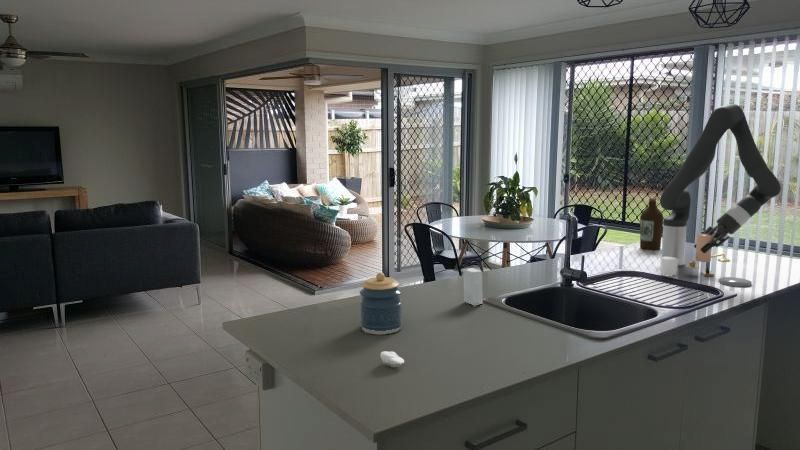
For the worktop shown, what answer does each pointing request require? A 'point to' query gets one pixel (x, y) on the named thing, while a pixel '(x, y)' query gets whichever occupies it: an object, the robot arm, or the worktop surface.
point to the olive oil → (651, 227)
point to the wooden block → (701, 241)
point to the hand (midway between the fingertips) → (699, 249)
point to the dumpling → (391, 358)
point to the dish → (735, 281)
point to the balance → (707, 265)
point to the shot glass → (669, 265)
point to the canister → (381, 304)
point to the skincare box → (472, 286)
